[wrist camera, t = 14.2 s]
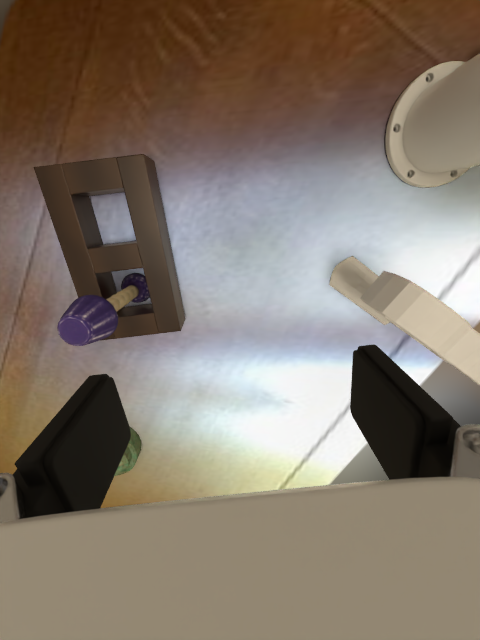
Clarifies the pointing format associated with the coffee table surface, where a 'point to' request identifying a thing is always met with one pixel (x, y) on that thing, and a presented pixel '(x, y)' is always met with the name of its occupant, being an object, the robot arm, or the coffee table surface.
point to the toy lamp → (100, 312)
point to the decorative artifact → (130, 454)
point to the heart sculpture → (411, 313)
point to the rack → (99, 260)
